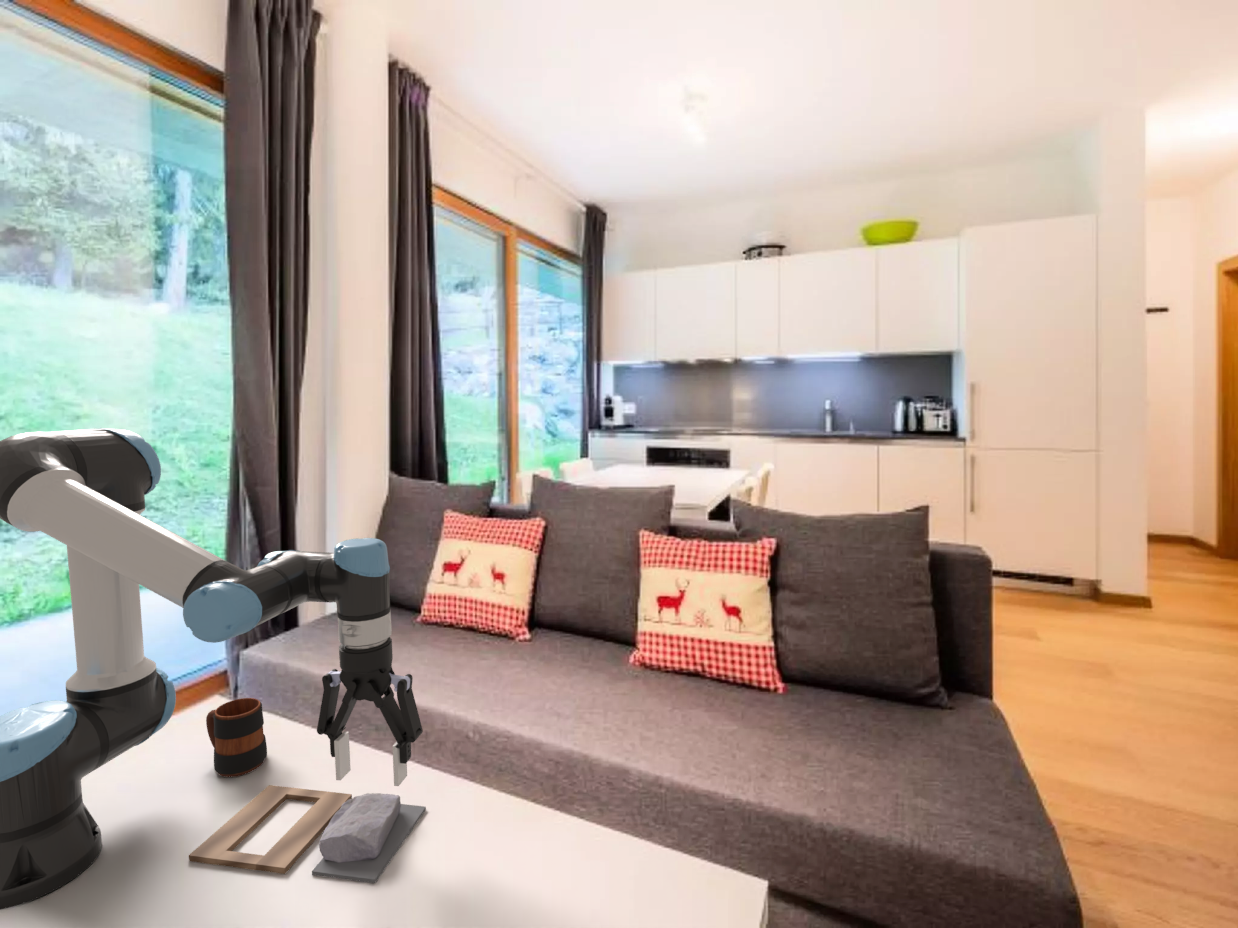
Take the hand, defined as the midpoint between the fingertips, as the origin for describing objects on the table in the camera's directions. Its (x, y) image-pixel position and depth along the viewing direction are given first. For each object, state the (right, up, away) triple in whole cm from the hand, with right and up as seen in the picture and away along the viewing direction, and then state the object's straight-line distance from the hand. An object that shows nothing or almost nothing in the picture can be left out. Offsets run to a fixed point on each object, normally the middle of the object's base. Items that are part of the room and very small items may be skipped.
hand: (371, 777), depth 95 cm
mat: (0, -10, +1) cm, 11 cm away
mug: (-35, -8, +21) cm, 42 cm away
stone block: (-2, -10, +1) cm, 10 cm away
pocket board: (-17, -10, +4) cm, 20 cm away
